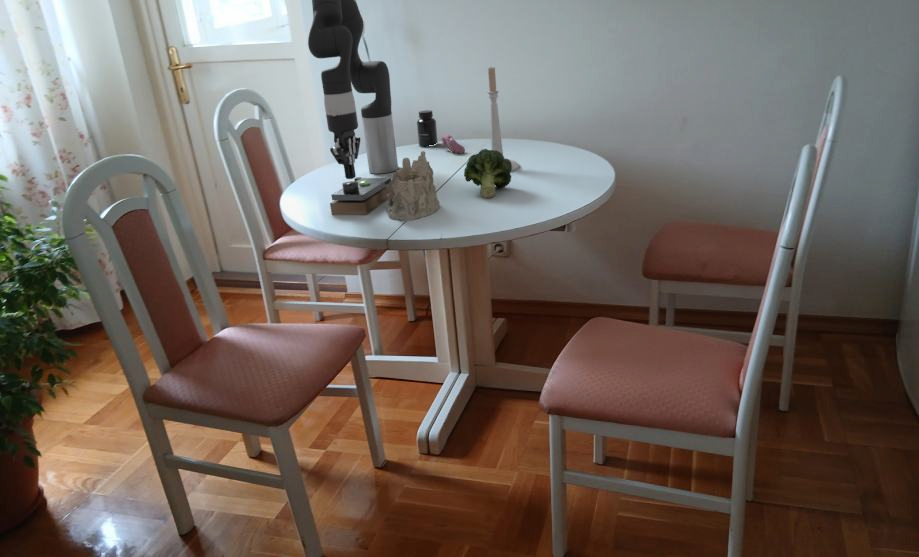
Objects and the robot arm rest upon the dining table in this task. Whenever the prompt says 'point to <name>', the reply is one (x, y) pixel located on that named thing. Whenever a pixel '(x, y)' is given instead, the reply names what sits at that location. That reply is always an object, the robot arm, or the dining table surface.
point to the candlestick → (496, 117)
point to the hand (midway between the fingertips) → (350, 178)
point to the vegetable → (488, 171)
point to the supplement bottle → (426, 129)
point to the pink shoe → (452, 144)
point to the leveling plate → (360, 188)
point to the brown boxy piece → (359, 204)
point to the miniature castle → (412, 191)
